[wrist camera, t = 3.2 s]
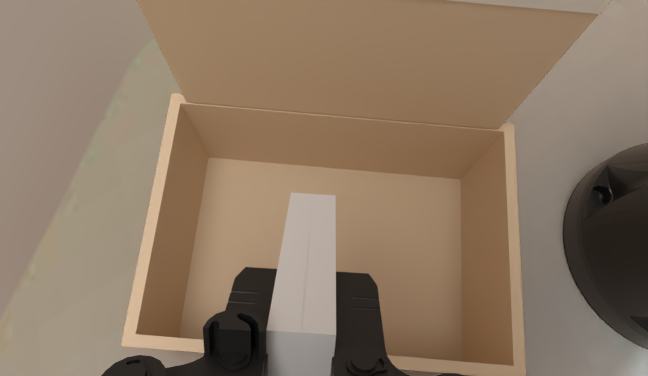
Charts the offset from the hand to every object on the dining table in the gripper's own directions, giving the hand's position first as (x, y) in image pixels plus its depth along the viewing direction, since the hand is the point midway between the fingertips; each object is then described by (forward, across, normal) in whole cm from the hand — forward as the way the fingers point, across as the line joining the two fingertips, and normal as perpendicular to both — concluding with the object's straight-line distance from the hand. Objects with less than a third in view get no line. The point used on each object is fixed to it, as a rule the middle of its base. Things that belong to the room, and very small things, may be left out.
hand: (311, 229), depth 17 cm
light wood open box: (+15, +1, -11) cm, 18 cm away
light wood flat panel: (+13, +1, 0) cm, 13 cm away
